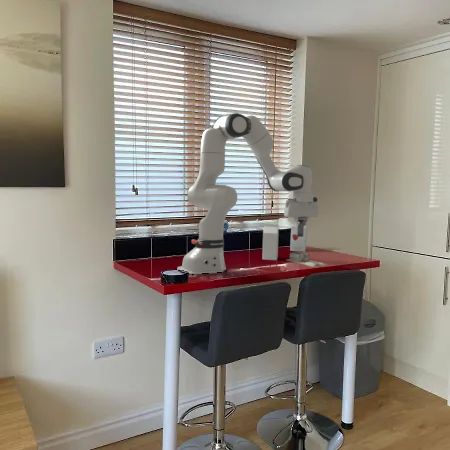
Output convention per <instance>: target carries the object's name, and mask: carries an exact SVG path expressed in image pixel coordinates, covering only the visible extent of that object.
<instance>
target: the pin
mask: <svg viewBox="0 0 450 450" xmlns="http://www.w3.org/2000/svg"><path fill="white" fill-rule="evenodd" d="M297 220H298V223H300V224H299V226H298V230H297V236H299V237H303V232H304V220H307V217H298V219H297Z"/></svg>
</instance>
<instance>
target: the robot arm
mask: <svg viewBox="0 0 450 450" xmlns="http://www.w3.org/2000/svg"><path fill="white" fill-rule="evenodd" d="M241 137H242V138H243V139H244V140H245V142H246V143H247V146H248V147H249V148H250V150H251V151H252V153H253V154H254V157H255V159H256V161H257V162H258V164H259V166H260V168H261V169H262V171H263V173H264V175H265V176H266V181H267V185H268V186H269V189H271V190H272V191H273V192H293V193H292V198H287V199H286V201H285V205H284V210H283V211H284V212H283V216H284V218H289V219H290V218H292V219H293V221H294V224H295V226H299V224H300V223H298V220H297V219H298V217H307V220H304V226H306V225H308V221H309V220H310V218H311V217H313V218H315V217H318V215H319V203H318V202H319V197H317V196H315V195H313V194H312V189H311V188H312V185H313V173H312V169H311V167H309V166H308V165H302V164H296V165H295V166H294V167H293V168H291V169H290V170H287V171H281V170H279V169H278V168H277V167H276V165H275V163H274V162H273V159H272V157H271V154H270V153H271V152H272V151H273V149H274V144H275V143H274V139H273V137H272V135H271V133H270V132H269V130H268V129H267V128H266V126H265V124H263V123H262V122H261V120H260V119H259V118H258V117H256V116H255V115H248V116H245V115H243V114H242V113H238V112H234V113H227V114H224V115H221V116H219V117H217V118H216V120H215V121H214V122H213V125H212V127H210V128H208V129H206V130H204V131H203V133H202V137H201V141H200V155H199V157H200V158H199V159H200V162H199V172H198V175H197V177H196V180H195V181H194V183H193V184H192V185H191V186H190V187H189V189H188V191H187V200H188V202H189V204H190V205H192V206H195V207H197V208H202V209H203V208H204V209H207V213H206V215H205V217H203V218H201V220H200V221H199V225H198V227H199V228H198V231H199V232H198V238H197V240H196V239H191V244H193V245H195V247H193V249H191V250H190V251H189V252H187V254H185V255H184V257H183V259H182V265H180V266H177V271H178V270H184V271H188V272H189V274H188V275H192V274H194V275H203V274H202V273H209V274H218V273H217V272H222V273H224V271H226V270H227V268H226V262H225V257H224V255H225V254H224V249H225V238H224V227H225V220H226V218H227V215H228V213H229V212H230V210H231V209H233V208H234V207H235V206H236V204H237V203H238V192H237V190H236V189H235V188H234V187H233V186H229V185H226V184H217V183H216V182H217V180H218V178H219V176H221V175H222V174H224V172H225V169H226V167H225V166H226V165H225V163H226V144H227V141H228V140H233V139H237V138H241Z"/></svg>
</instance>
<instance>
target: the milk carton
mask: <svg viewBox="0 0 450 450" xmlns="http://www.w3.org/2000/svg"><path fill="white" fill-rule="evenodd" d="M278 254H279V224H273V223H272V224H271V223H270V224H269V223H264V225H263V231H262V257H261V258H262V260H265V261H266V260H267V261H277V260H278V256H279V255H278Z"/></svg>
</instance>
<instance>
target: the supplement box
mask: <svg viewBox="0 0 450 450" xmlns="http://www.w3.org/2000/svg"><path fill="white" fill-rule="evenodd" d="M307 225H308V224H307ZM307 225H306V226H304V232H303V237H299V236H297V230H298V226H295V223H294V224H293V223H292V224H291V228H290V229H291V230H290V245H289V246H290V247H289V248H290V249H289V250H290V252H302V253H306V248H307V236H308V235H307V232H308V231H307V230H308V229H307V228H308V226H307Z"/></svg>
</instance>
